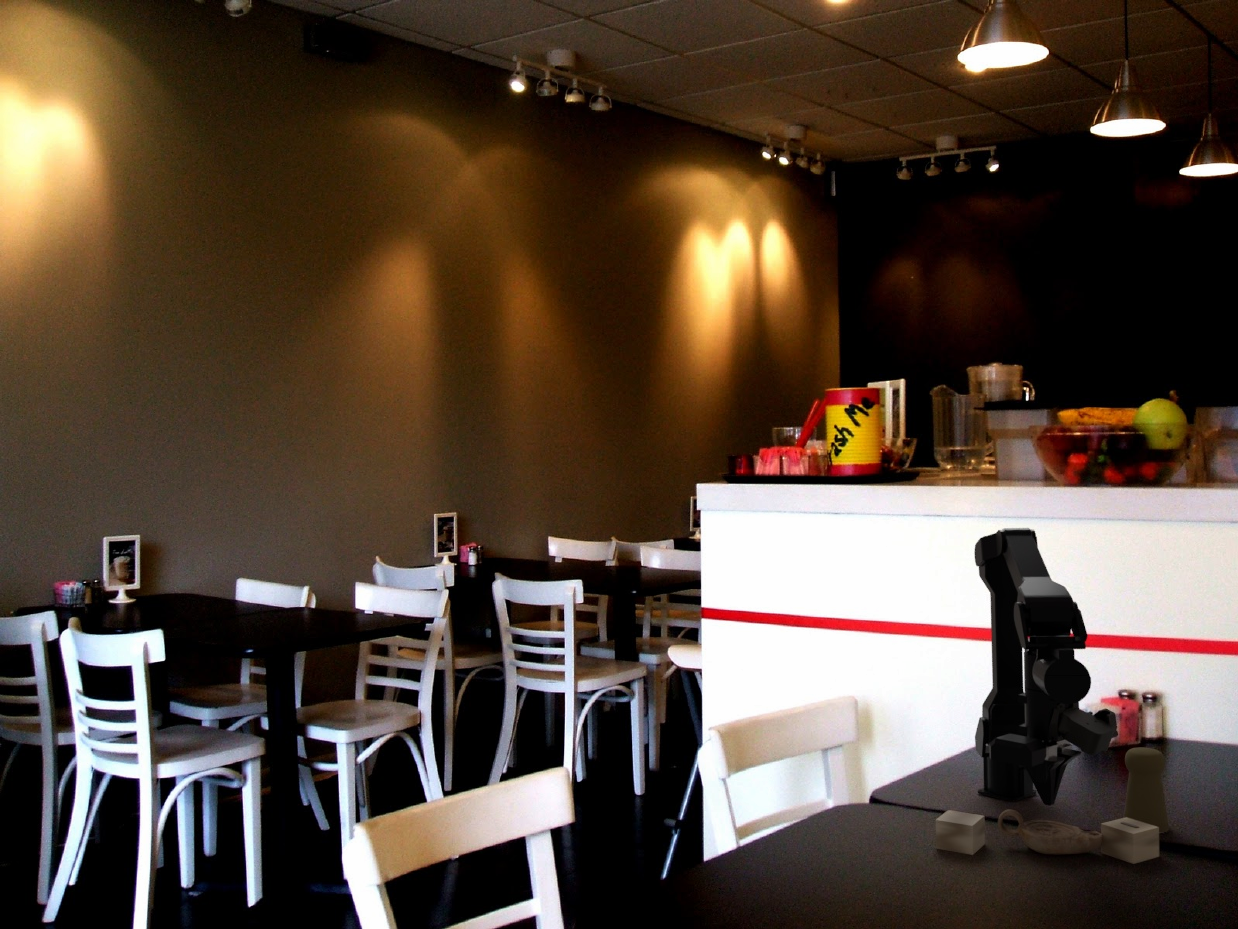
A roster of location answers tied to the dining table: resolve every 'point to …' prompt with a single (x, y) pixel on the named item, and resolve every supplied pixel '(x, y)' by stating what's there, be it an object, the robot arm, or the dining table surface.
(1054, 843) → the oil lamp
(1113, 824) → the beech block right
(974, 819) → the beech block left
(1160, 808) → the pepper shaker
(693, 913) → the dining table surface
